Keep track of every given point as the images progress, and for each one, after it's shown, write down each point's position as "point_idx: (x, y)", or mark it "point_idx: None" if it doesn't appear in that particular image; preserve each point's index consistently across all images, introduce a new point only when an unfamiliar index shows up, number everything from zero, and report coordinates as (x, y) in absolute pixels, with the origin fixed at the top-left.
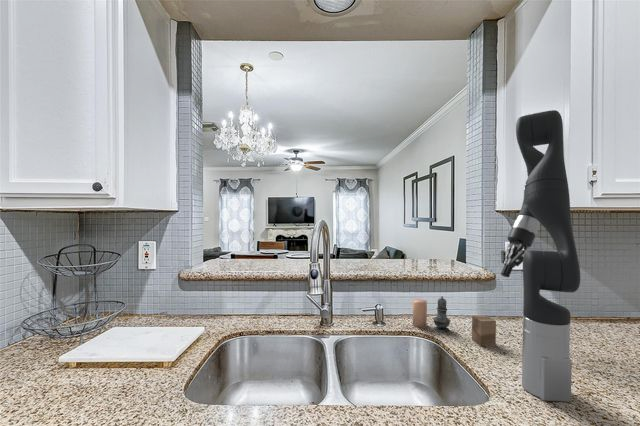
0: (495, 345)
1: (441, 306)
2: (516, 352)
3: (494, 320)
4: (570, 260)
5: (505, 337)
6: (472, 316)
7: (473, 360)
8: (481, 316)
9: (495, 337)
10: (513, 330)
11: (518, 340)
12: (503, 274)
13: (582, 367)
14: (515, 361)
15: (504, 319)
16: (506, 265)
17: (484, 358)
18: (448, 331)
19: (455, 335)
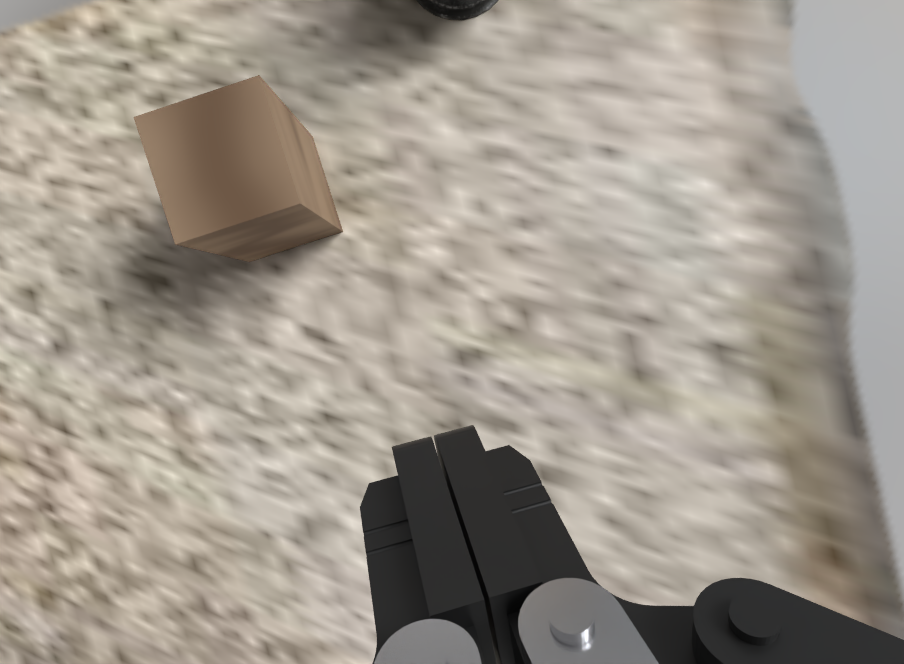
0: (249, 261)
1: None
2: (178, 354)
3: (178, 233)
4: None
5: (406, 367)
6: (252, 78)
7: (10, 78)
8: (257, 151)
9: (228, 255)
10: (554, 465)
11: (372, 433)
12: (394, 450)
13: (65, 628)
14: (54, 306)
15: (788, 480)
16: (433, 596)
17: (51, 146)
18: (424, 7)
19: (366, 44)
